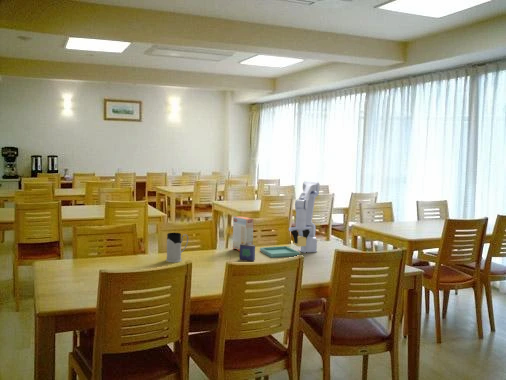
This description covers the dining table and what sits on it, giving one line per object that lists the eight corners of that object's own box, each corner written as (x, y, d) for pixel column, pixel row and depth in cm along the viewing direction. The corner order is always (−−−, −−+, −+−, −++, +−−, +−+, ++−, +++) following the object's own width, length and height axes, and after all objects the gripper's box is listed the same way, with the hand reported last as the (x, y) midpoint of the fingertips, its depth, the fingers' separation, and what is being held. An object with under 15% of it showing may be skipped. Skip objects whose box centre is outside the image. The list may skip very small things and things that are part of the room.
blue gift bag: (255, 260, 260) (255, 241, 259) (253, 261, 257) (253, 242, 256) (240, 258, 263) (240, 240, 262) (238, 260, 260) (238, 241, 259)
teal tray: (286, 249, 291) (286, 246, 291) (299, 255, 274) (299, 252, 274) (260, 251, 284) (260, 247, 284) (271, 257, 268) (271, 253, 267)
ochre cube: (301, 244, 274) (302, 236, 274) (305, 246, 270) (306, 237, 269) (294, 244, 272) (294, 236, 272) (298, 246, 268) (298, 238, 267)
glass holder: (162, 260, 256) (162, 233, 254) (182, 256, 266) (183, 230, 265) (172, 263, 250) (172, 235, 248) (192, 259, 260) (192, 232, 259)
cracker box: (253, 252, 281) (254, 218, 279) (245, 253, 277) (245, 219, 275) (240, 248, 292) (241, 215, 290) (232, 249, 288) (233, 216, 287)
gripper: (292, 221, 263) (292, 244, 265) (315, 220, 269) (314, 243, 270) (287, 219, 270) (286, 242, 271) (309, 218, 275) (308, 241, 276)
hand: (300, 242), depth 271 cm, fingers closed on ochre cube, 5 cm apart
